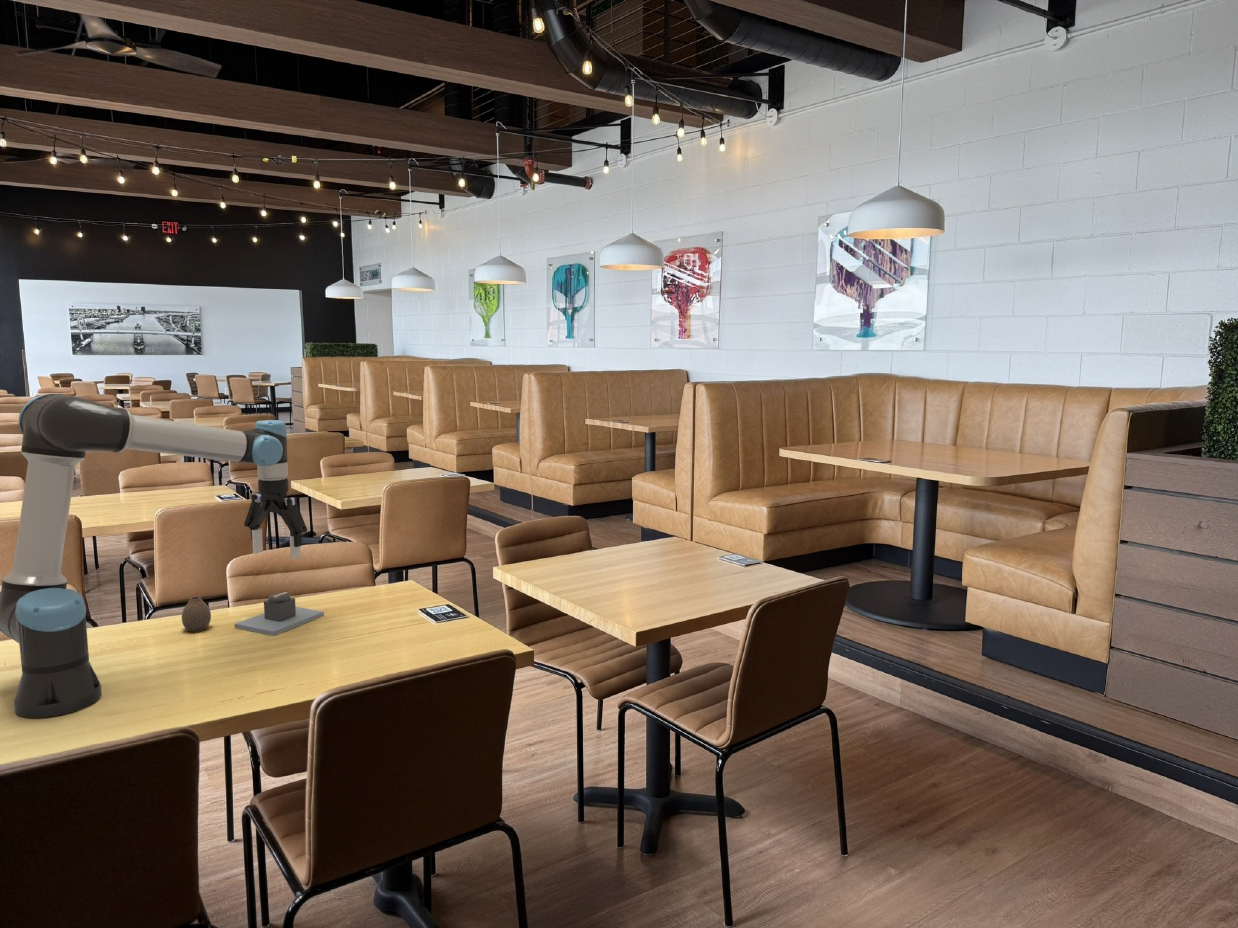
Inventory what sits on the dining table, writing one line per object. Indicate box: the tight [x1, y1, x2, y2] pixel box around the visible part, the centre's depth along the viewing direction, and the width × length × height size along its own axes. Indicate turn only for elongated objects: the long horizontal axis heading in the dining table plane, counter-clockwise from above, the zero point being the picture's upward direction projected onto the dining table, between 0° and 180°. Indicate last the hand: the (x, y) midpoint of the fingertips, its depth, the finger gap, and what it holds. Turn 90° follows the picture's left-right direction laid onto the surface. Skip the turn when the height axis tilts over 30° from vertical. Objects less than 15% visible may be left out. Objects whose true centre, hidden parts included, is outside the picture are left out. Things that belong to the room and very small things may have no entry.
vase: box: [181, 596, 212, 633], centre depth 217 cm, size 7×7×9 cm
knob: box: [263, 591, 296, 621], centre depth 223 cm, size 6×6×6 cm
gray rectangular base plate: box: [234, 606, 325, 637], centre depth 224 cm, size 18×14×5 cm
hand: (276, 555), depth 221 cm, fingers open, 13 cm apart
